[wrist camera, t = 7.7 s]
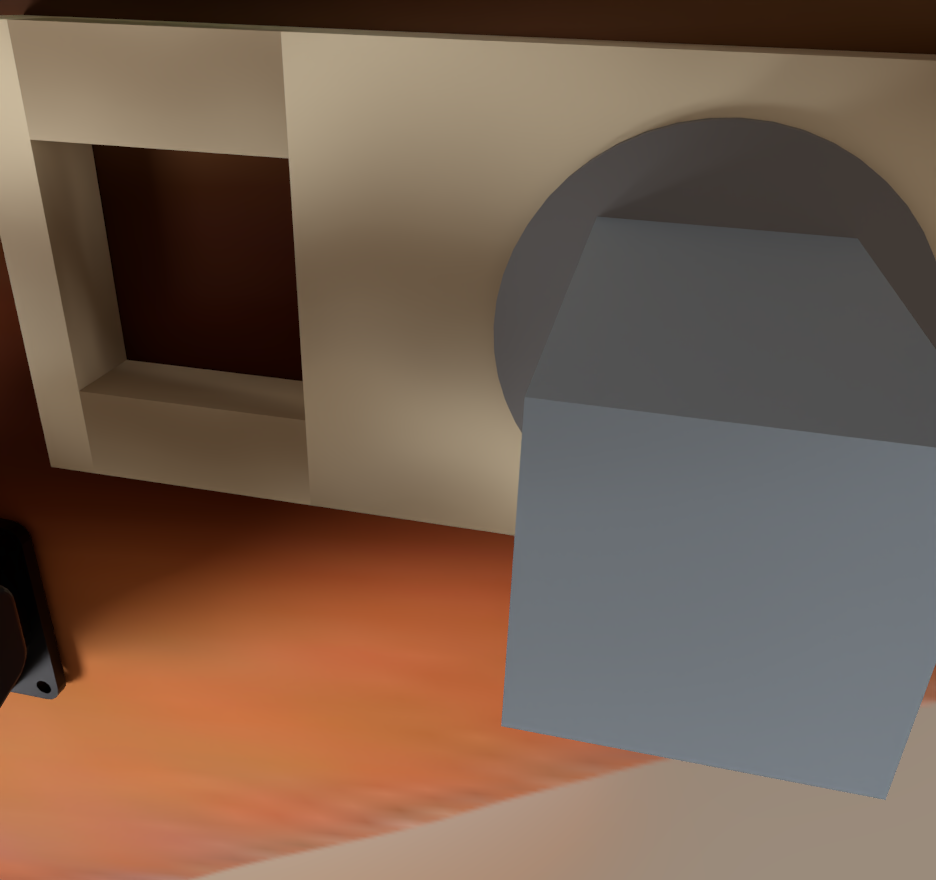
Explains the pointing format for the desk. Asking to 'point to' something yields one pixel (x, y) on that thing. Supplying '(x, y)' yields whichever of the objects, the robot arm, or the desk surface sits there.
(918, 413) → the block
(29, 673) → the robot arm
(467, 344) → the board
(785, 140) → the coaster
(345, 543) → the desk surface
